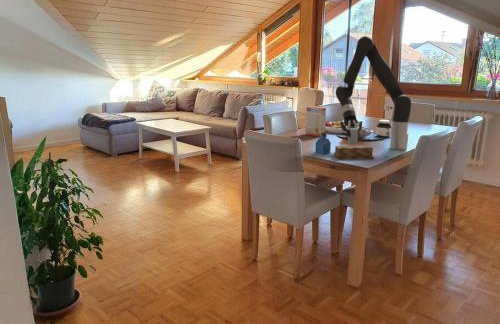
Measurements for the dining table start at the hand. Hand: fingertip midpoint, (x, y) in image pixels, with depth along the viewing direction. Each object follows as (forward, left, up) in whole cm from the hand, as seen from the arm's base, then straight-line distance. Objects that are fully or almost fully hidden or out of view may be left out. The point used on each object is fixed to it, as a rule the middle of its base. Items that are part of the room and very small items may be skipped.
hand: (354, 136), depth 231 cm
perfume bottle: (+18, -1, -10) cm, 21 cm away
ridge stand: (+3, +10, -10) cm, 15 cm away
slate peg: (0, -2, -5) cm, 5 cm away
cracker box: (+10, -53, -10) cm, 55 cm away
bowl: (-14, -69, -10) cm, 71 cm away
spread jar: (-39, -48, -10) cm, 62 cm away
